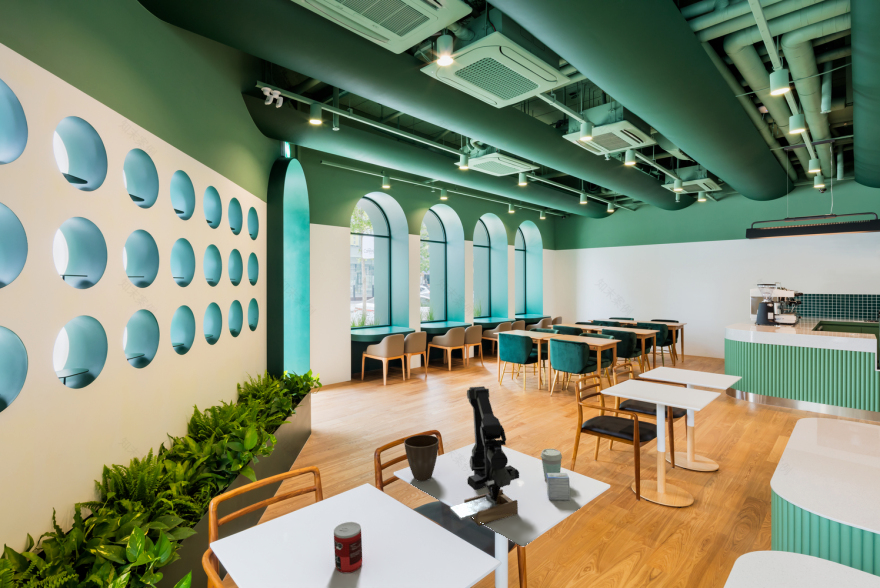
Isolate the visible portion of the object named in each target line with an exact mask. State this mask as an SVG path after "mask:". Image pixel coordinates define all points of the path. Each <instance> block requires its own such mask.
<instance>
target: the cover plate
mask: <svg viewBox="0 0 880 588" xmlns="http://www.w3.org/2000/svg"><path fill="white" fill-rule="evenodd" d="M485 494H486V493H485ZM494 506H498V505H497V501H496V500H495V499H494V498H492V497H491V496H490V495H488V494H486V497H483V498H480V499H477V500H473V501H470V502H467V503H461V504H458V505H454V506H451V507H449V510H450V511H451V512H452V513H453V514H454V515H455V516H456V517H458V518H459V520H460V521H464V520H467V519H471V518H470V517H473V516H476V515H477V512H478V511H481V510H484V509H488V508H491V507H494Z"/></svg>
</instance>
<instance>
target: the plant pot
mask: <svg viewBox="0 0 880 588" xmlns="http://www.w3.org/2000/svg"><path fill="white" fill-rule="evenodd" d="M403 443H404V449H405V454H406V459H407V463H408V465H409V468H410V472H411V474H412V476H413V478H414V480H416V481H417V480H418V482H426V481H429V480H431V478H432V477H433V474H434V469H435V467H436V462H437V457H438V452H439V443H440V439H439V438H438V437H437V436H435V435H430V434H417V435H412V436H409V437H407V438H405V439H404V441H403Z"/></svg>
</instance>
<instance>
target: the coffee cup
mask: <svg viewBox="0 0 880 588" xmlns="http://www.w3.org/2000/svg"><path fill="white" fill-rule="evenodd" d="M540 458H541V462H542V463H541V464H542V469H543V477H544V481H545V483H547V475H546V473H561V468H562V459H563V455H562V453H561V451H560V450H558V449H556V448H544V449H542V450H541V453H540Z"/></svg>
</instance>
